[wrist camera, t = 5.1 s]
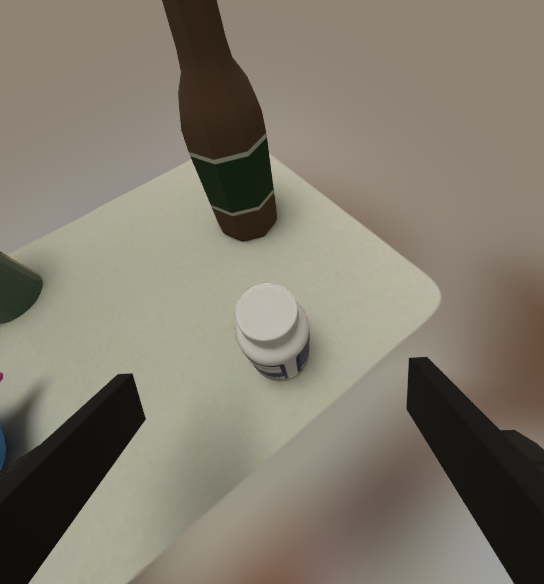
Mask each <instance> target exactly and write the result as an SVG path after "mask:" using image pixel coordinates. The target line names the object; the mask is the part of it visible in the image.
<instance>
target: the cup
mask: <svg viewBox="0 0 544 584" xmlns="http://www.w3.org/2000/svg"><path fill="white" fill-rule="evenodd" d="M41 288H42V280H41V278H40V276H39V275H38V274H37V273H35V272H33V271H32V270H31V269H29V268H27V267H26V266H24V265H22V264H21V263H19V262H17V261H15V260H14V259H12V258H10V257H9V256H7V255H5V254H4V253H2V252H0V324H2V323H5V322H8V321H11V320H13V319H15V318H16V317H18V316H20V315H21V314H23V313H24V312H25V311H26V310H27V309H28V308H29V307H30V306H31V305H32V304H33V303H34V302H35V300H36V299H37V297H38V296H39V294H40V291H41Z"/></svg>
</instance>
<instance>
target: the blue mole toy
mask: <svg viewBox="0 0 544 584" xmlns="http://www.w3.org/2000/svg"><path fill="white" fill-rule="evenodd" d="M2 379H3V373H1V372H0V381H1V380H2ZM5 455H6V443H5V439H4V436H3V432H2V427H1V424H0V471H1V469H2V466H3V463H4V460H5Z"/></svg>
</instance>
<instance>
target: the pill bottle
mask: <svg viewBox="0 0 544 584" xmlns="http://www.w3.org/2000/svg"><path fill="white" fill-rule="evenodd" d="M235 319H236V325H235V335H236V340H237V342H238V345H239V347H240V348H241V350H242V352H243V353H244V354H245V355H246V357H247V358H248V359H249V360H250V362H251V363H252V364H253V365H254V367H255V368H256V369H257V370H258V371H259V372H260V373H261V374H262V375H263V376H265V377H266V378H268V379H271V380H275V381H285V380H289V379H291V378H293V377H295V376H296V375H298V374H299V373H300V372H301V371H302V370H303V368H304V367H305V365H306V363H307V360H308V356H309V322H308V318H307V315H306V313H305V311H304V309H303V308H302V306H301V305H300V304H299V303H298V302H297V301H296V300H295V298H294V296H293V295H292V293H291V292H290V291H289V290H288V289H286V288H285V287H283V286H281V285H278V284H274V283H262V284H258V285H255V286H253V287H251V288H250V289H248V290H247V291H246V292H245V293H244V294H243V295H242V296H241V297H240V299H239V301H238V303H237V305H236V309H235Z"/></svg>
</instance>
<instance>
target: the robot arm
mask: <svg viewBox="0 0 544 584" xmlns="http://www.w3.org/2000/svg"><path fill="white" fill-rule="evenodd" d="M408 371H409V372H408V390H407V411H408V412H409V414H410V416H411V417H412V419H413V420H414V422H415V424H416V425H417V427H418V428H419V430H420V432H421V433H422V435H423V437H424V438H425V440H426V442H427V443H428V445H429V446H430V448H431V449H432V451H433V453H434V454H435V456H436V458H437V459H438V461H439V463H440V464H441V466H442V467H443V469H444V471H445V472H446V474H447V476H448V477H449V479H450V480H451V482H452V484H453V485H454V487H455V489H456V490H457V492H458V493H459V495H460V497H461V498H462V500H463V502H464V503H465V505H466V506H467V508H468V510H469V511H470V513H471V514H472V516H473V518H474V519H475V521H476V523H477V524H478V526H479V527H480V529H481V530H482V532H483V534H484V536H485V537H486V539H487V540H488V542H489V544H490V545H491V547H492V548H493V550H494V552H495V553H496V555H497V557H498V558H499V560H500V561H501V563H502V564H503V566H504V568H505V569H506V571H507V573H508V574H509V576H510V578H511V579H512V581H513V583H514V584H544V450H543V449H542V448H541V447H540V446H539V445H538V444H537V443H535V442H533V441H532V440H530V439H529V438H527V437H525V436H524V435H522V434H520V433H519V432H517V431H516V430H499V429H498V428H497V427H496V426H495V425H494V424H493V423H492V422H491V421H490V420H489V419H488V418H487V417H486V416H485V415H484V414H483V413H482V412H481V411H480V410H479V409H478V408H477V407H476V406H475V405H474V404H473V403H472V402H471V401H470V400H469V399H468V398H467V397H466V396H465V395H464V394H463V393H462V392H461V391H460V390H459V388H458V387H457V386H456V385H454V383H453V382H452V381H450V380H449V378H448V377H447V376H446V375H444V374H443V372H442V371H440V369H439V368H438V367H436V365H434V363H433V362H432V361H431V360H430V359H428V357H417V358H409V370H408ZM145 420H146V418H145V415H144V412H143V408H142V405H141V401H140V398H139V394H138V391H137V387H136V384H135V381H134V377H133V374H132V373H130V374H118V375H116V376H115V377H114V378H113V379H112V380H111V381H110V382H109V383H108V384H107V385H105V386H104V387H103V388H102V389H101V390H100V391H99V392H98V393H97V394H96V395H94V396H93V397H92V398H91V399H90V400H89V401H88V402H87V403H86V404H85V405H83V406H82V407H81V408H80V409H79V410H78V411H77V412H76V413H75V414H74V415H72V416H71V417H70V418H69V419H68V420H67V421H66V422H65V423H64V424H63V425H61V426H60V427H59V428H58V429H57V430H56V431H55V432H54V433H53V434H52V435H50V436H49V437H48V438H47V439H46V440H45V441H44V442H43V443H42V444H41V445H39V446H37V447H36V448H34V449H33V450H31V451H30V452H28V453H27V454H25V455H24V456H22V457H21V458H19V459H18V460H17V461H16V462H15V463H14V464H13V465H12V466H10V467H9V468H8V469H7V470H6V471H5V472H4V474H3V475H0V584H28V583H29V582H30V580H31V579H32V578H33V576H34V575H35V573H36V572H37V571H38V569H39V568H40V566H41V565H42V564H43V562H44V561H45V559H46V558H47V557H48V555H49V554H50V552H51V551H52V550H53V548H54V547H55V545H56V544H57V543H58V541H59V540H60V538H61V537H62V536H63V534H64V533H65V531H66V530H67V529H68V527H69V526H70V524H71V523H72V522H73V520H74V519H75V517H76V516H77V515H78V513H79V512H80V510H81V509H82V508H83V506H84V505H85V503H86V502H87V501H88V499H89V498H90V496H91V495H92V494H93V492H94V491H95V489H96V488H97V487H98V485H99V484H100V482H101V481H102V480H103V478H104V477H105V475H106V474H107V473H108V471H109V470H110V468H111V467H112V466H113V464H114V463H115V461H116V460H117V459H118V457H119V456H120V454H121V453H122V452H123V450H124V449H125V448H126V446H127V445H128V443H129V442H130V441H131V439H132V438H133V436H134V435H135V434H136V432H137V431H138V429H139V428H140V427H141V425H142V424H143V422H144V421H145Z"/></svg>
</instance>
